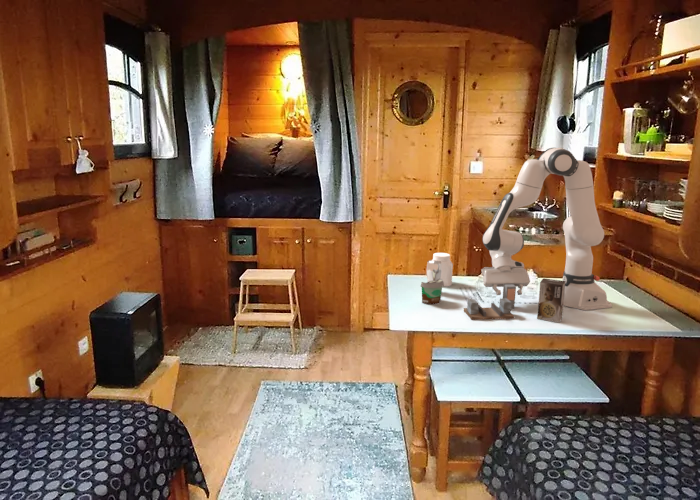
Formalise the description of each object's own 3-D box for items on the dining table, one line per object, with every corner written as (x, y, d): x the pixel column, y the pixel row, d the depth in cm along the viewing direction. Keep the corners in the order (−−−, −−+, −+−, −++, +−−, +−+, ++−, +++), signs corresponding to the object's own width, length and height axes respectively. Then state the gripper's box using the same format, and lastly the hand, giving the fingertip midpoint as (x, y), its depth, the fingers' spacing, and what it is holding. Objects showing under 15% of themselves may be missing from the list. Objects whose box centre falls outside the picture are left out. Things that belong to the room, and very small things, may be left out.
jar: (429, 285, 270) (430, 256, 266) (428, 280, 279) (429, 251, 276) (452, 286, 269) (454, 257, 265) (450, 281, 278) (452, 252, 275)
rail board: (504, 309, 236) (505, 296, 235) (513, 318, 226) (515, 304, 224) (463, 310, 235) (464, 296, 233) (471, 319, 224) (472, 305, 223)
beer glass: (440, 295, 256) (441, 264, 252) (425, 293, 257) (426, 263, 254) (440, 290, 262) (442, 260, 259) (426, 289, 264) (427, 259, 260)
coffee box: (562, 318, 227) (566, 281, 223) (559, 323, 221) (563, 284, 218) (539, 314, 231) (543, 277, 228) (536, 318, 226) (539, 281, 222)
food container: (430, 307, 239) (431, 285, 236) (419, 303, 243) (420, 282, 241) (448, 301, 246) (449, 280, 244) (438, 298, 251) (439, 277, 249)
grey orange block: (510, 305, 242) (512, 283, 240) (514, 308, 238) (516, 286, 235) (501, 305, 242) (503, 284, 239) (505, 309, 237) (507, 287, 235)
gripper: (482, 263, 242) (488, 291, 234) (527, 263, 243) (534, 290, 236) (478, 270, 247) (484, 298, 240) (522, 270, 249) (529, 297, 241)
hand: (509, 294), depth 238 cm, fingers open, 8 cm apart
